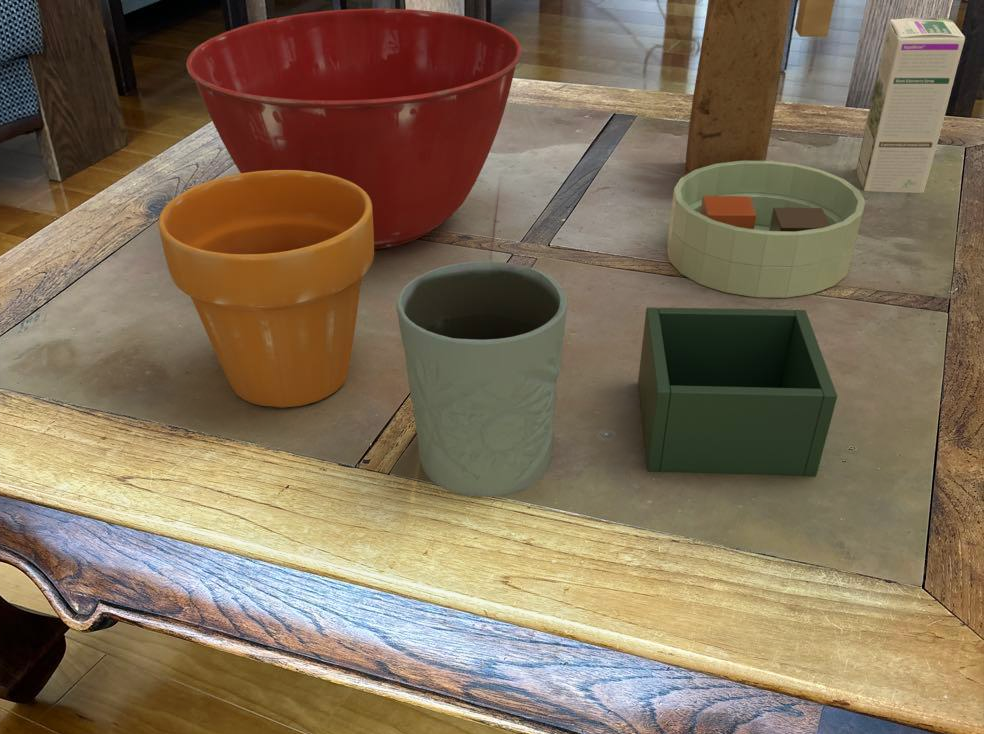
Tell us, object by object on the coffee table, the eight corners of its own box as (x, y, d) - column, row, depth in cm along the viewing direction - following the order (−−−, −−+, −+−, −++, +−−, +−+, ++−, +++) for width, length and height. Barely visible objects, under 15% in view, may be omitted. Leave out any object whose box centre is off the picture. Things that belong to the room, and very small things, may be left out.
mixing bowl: (297, 152, 111) (279, -5, 101) (552, 179, 104) (559, 13, 94) (161, 265, 91) (120, 84, 81) (463, 309, 84) (460, 115, 74)
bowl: (828, 226, 94) (843, 160, 90) (865, 306, 82) (884, 235, 78) (660, 224, 95) (667, 159, 91) (673, 303, 84) (683, 233, 80)
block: (758, 209, 97) (800, -27, 84) (678, 204, 98) (707, -29, 85) (760, 167, 105) (799, -55, 92) (686, 162, 106) (714, -57, 93)
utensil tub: (786, 392, 73) (805, 309, 69) (814, 483, 65) (837, 396, 61) (637, 389, 74) (646, 306, 70) (646, 478, 66) (657, 391, 62)
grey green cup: (517, 528, 63) (521, 357, 55) (377, 482, 67) (362, 316, 59) (582, 442, 69) (595, 278, 61) (451, 404, 73) (447, 246, 65)
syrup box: (924, 198, 98) (971, 35, 88) (859, 196, 98) (899, 34, 89) (913, 175, 102) (957, 17, 92) (851, 173, 103) (888, 16, 93)
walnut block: (812, 252, 88) (821, 207, 86) (820, 273, 85) (831, 228, 83) (764, 251, 89) (773, 207, 86) (772, 273, 86) (781, 227, 83)
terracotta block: (742, 239, 91) (749, 195, 88) (748, 260, 88) (756, 215, 85) (696, 239, 91) (702, 195, 88) (701, 259, 88) (707, 214, 85)
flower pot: (230, 323, 83) (201, 164, 74) (401, 334, 81) (391, 172, 72) (165, 422, 72) (122, 249, 64) (360, 438, 70) (342, 261, 62)
